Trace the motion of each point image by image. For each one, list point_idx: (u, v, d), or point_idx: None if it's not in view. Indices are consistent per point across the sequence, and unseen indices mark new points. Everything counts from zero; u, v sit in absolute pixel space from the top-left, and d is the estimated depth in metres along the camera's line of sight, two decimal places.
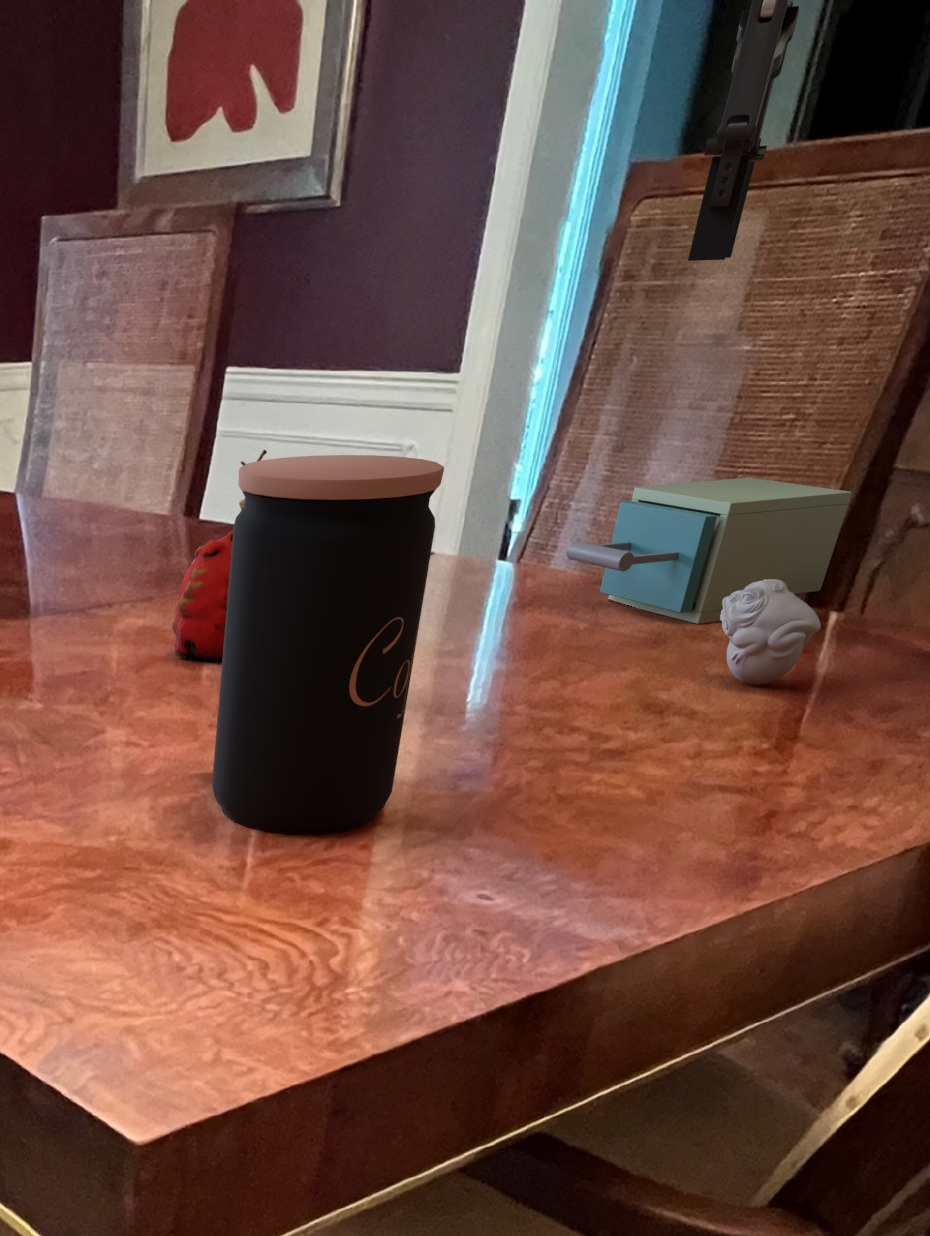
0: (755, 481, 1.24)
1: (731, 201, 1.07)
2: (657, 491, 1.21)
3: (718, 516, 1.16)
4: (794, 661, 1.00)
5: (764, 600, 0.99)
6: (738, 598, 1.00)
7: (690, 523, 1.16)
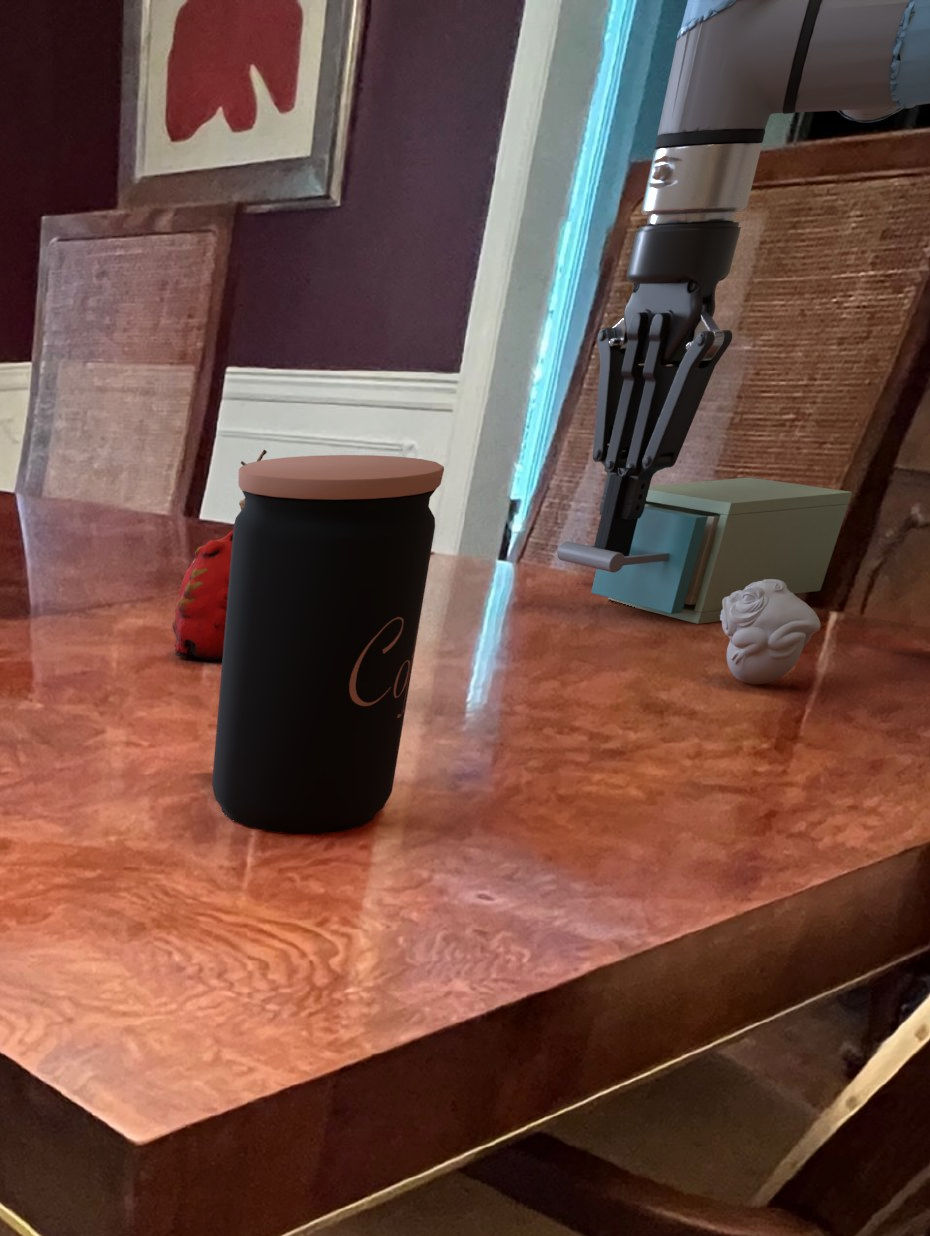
0: (755, 481, 1.24)
1: None
2: (657, 491, 1.21)
3: (709, 517, 1.16)
4: (794, 661, 1.00)
5: (764, 600, 0.99)
6: (738, 598, 1.00)
7: (681, 524, 1.16)
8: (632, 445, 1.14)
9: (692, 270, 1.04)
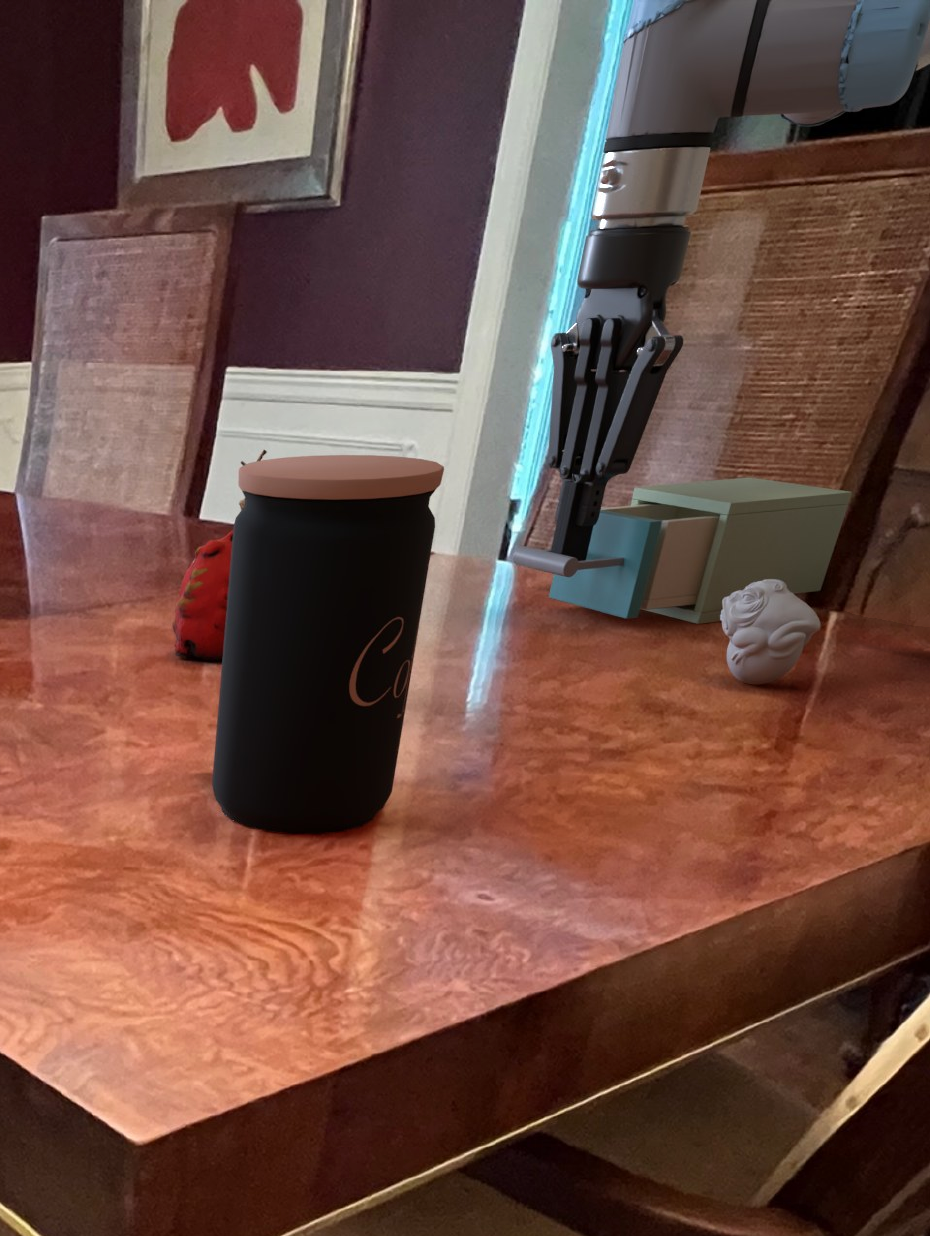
0: (755, 481, 1.24)
1: None
2: (657, 491, 1.21)
3: (664, 521, 1.15)
4: (794, 661, 1.00)
5: (764, 600, 0.99)
6: (738, 598, 1.00)
7: (636, 528, 1.15)
8: (586, 451, 1.13)
9: (642, 275, 1.03)
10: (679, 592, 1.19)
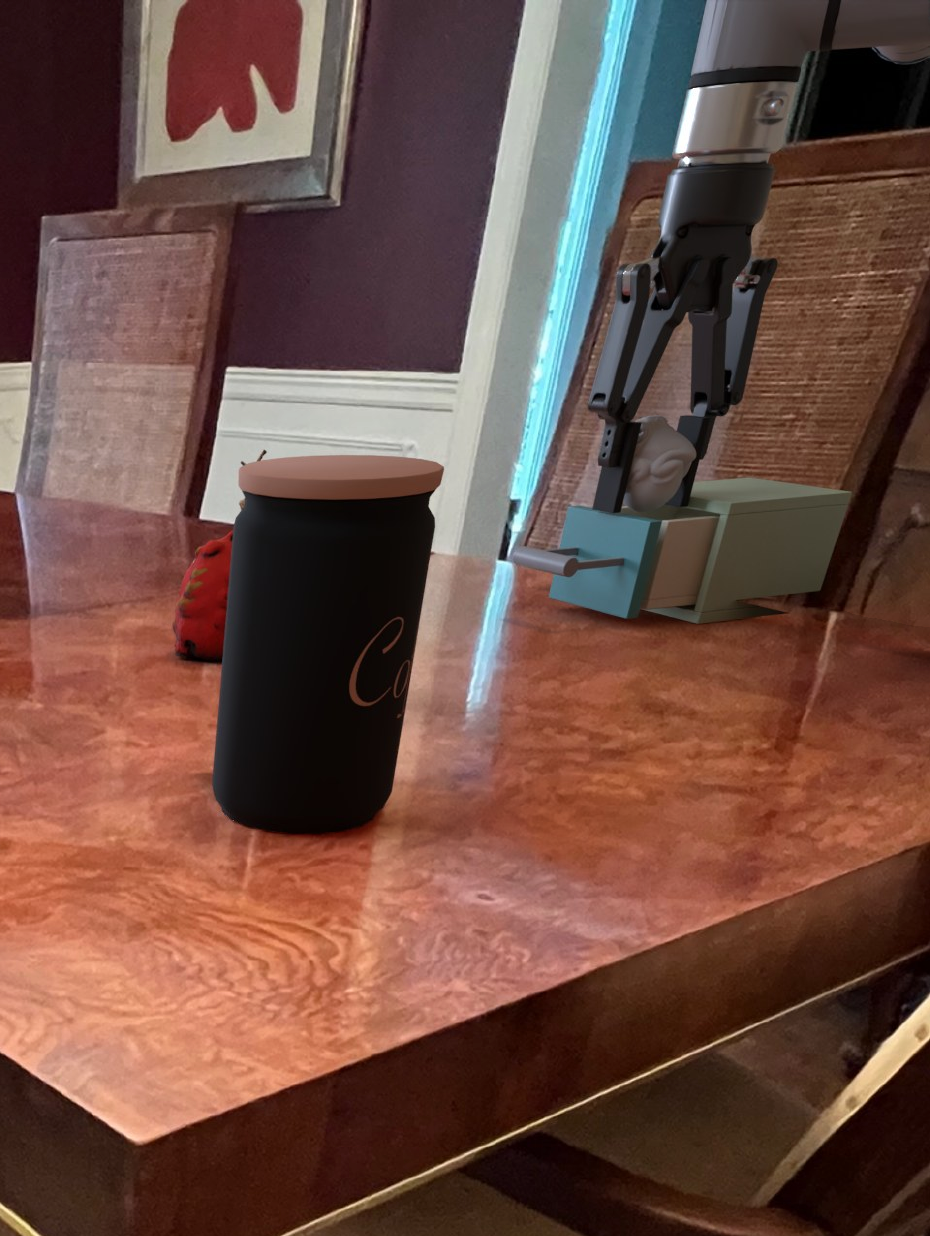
0: (755, 481, 1.24)
1: None
2: None
3: (664, 521, 1.15)
4: (675, 488, 1.15)
5: (647, 432, 1.13)
6: None
7: (636, 528, 1.15)
8: (713, 388, 1.13)
9: None
10: (679, 592, 1.19)
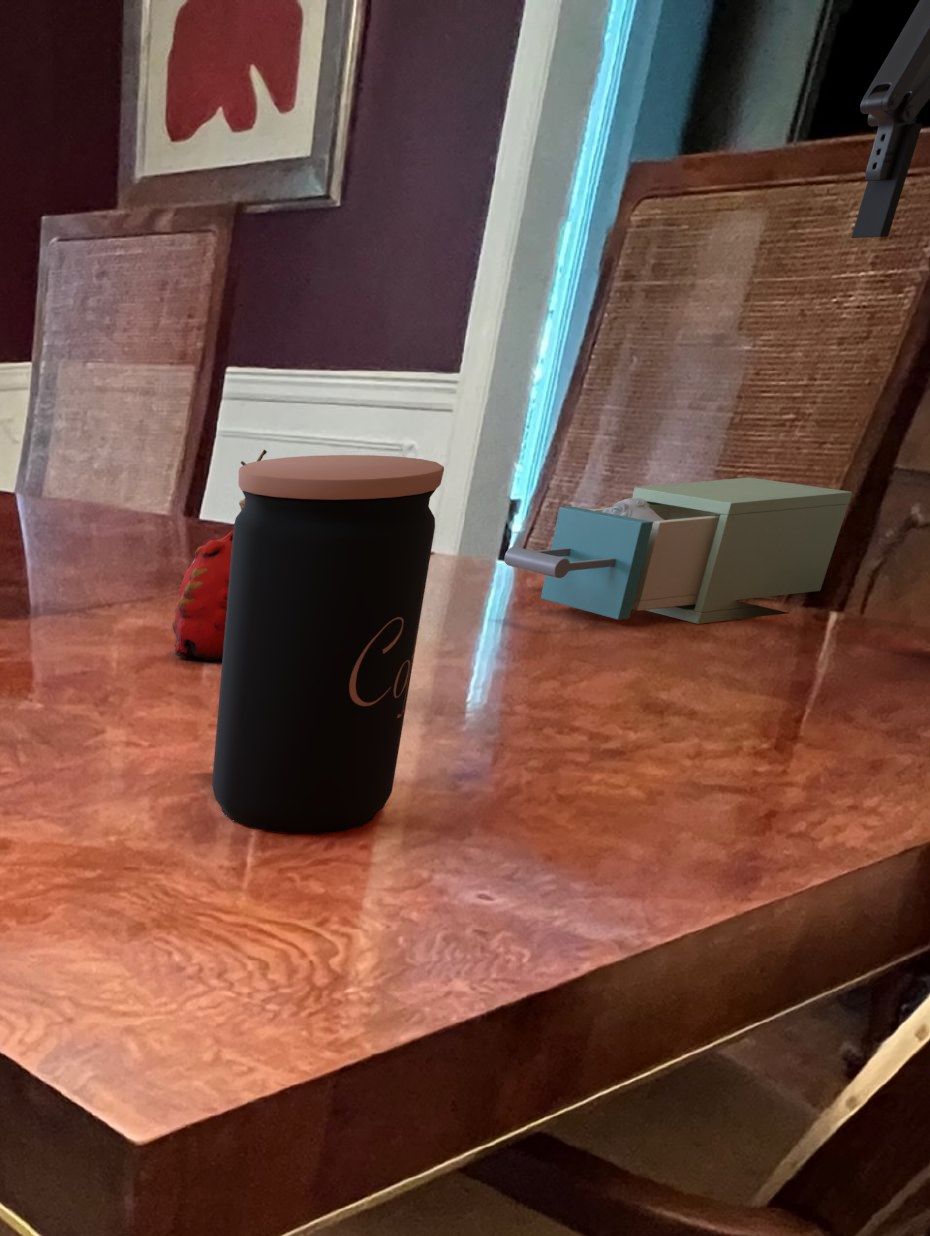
0: (755, 481, 1.24)
1: None
2: (657, 491, 1.21)
3: (655, 522, 1.15)
4: None
5: (628, 513, 1.17)
6: None
7: (627, 529, 1.15)
8: None
9: None
10: (671, 593, 1.19)
